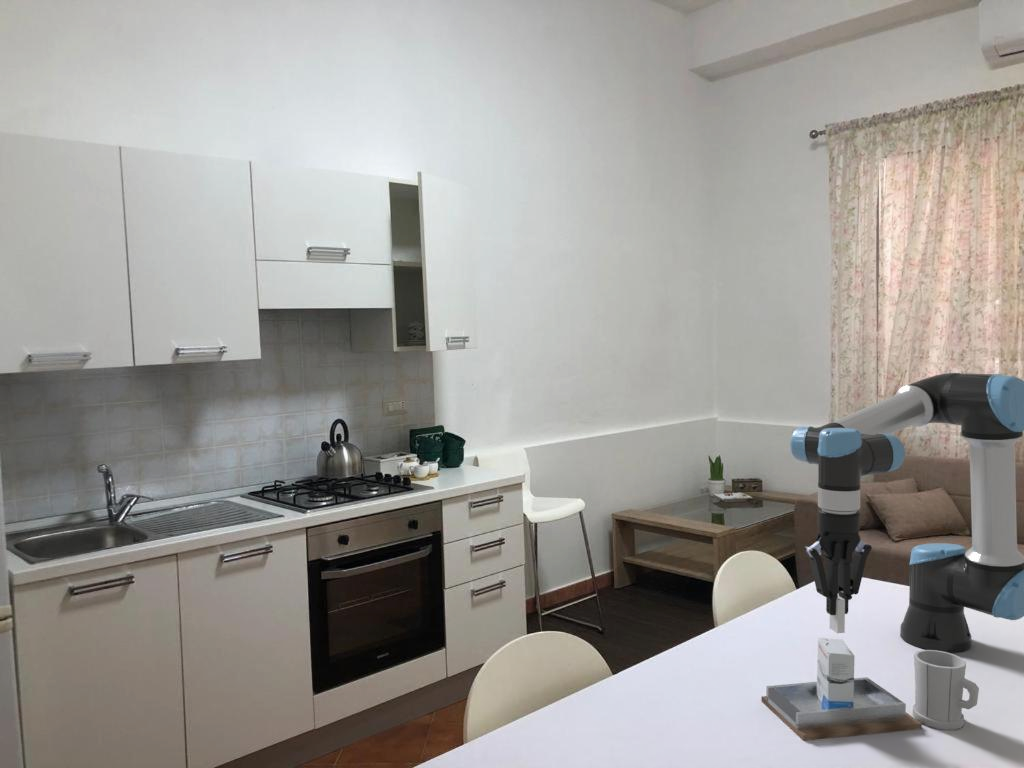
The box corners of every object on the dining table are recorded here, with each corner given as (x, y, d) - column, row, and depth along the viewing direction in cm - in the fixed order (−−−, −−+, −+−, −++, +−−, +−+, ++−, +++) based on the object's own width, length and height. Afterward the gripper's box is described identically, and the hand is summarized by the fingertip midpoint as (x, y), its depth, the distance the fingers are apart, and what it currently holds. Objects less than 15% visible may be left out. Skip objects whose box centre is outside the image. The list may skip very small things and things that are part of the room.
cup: (969, 714, 159) (971, 653, 158) (978, 736, 150) (981, 672, 150) (909, 706, 162) (910, 647, 162) (915, 727, 154) (917, 665, 153)
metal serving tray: (866, 691, 167) (867, 677, 167) (905, 719, 155) (905, 703, 155) (766, 700, 163) (766, 686, 163) (797, 730, 151) (798, 714, 151)
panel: (869, 691, 169) (869, 686, 169) (921, 728, 153) (921, 723, 153) (761, 701, 165) (761, 696, 165) (803, 740, 149) (803, 735, 149)
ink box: (854, 715, 154) (855, 654, 153) (827, 714, 155) (828, 653, 154) (841, 695, 163) (842, 637, 162) (815, 694, 163) (816, 636, 163)
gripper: (858, 503, 161) (856, 620, 163) (796, 507, 159) (795, 626, 161) (881, 512, 154) (879, 634, 155) (817, 516, 151) (816, 640, 153)
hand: (837, 630), depth 158 cm, fingers closed
